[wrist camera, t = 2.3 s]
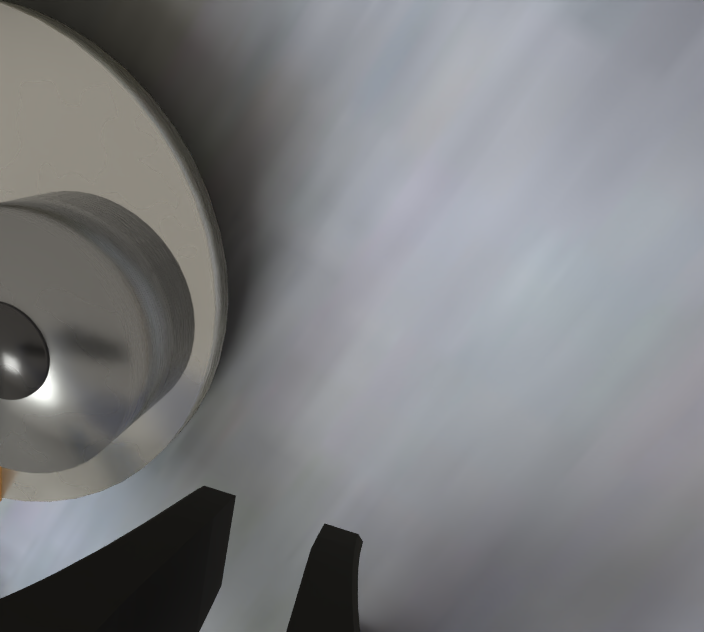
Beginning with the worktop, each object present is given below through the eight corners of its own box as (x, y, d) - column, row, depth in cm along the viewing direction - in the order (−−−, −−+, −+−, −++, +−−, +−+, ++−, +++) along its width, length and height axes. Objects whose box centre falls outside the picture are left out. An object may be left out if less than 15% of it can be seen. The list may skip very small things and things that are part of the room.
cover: (208, 223, 18) (139, 251, 14) (181, 440, 20) (117, 509, 17) (-17, 166, 19) (-131, 180, 15) (-16, 380, 21) (-115, 433, 18)
